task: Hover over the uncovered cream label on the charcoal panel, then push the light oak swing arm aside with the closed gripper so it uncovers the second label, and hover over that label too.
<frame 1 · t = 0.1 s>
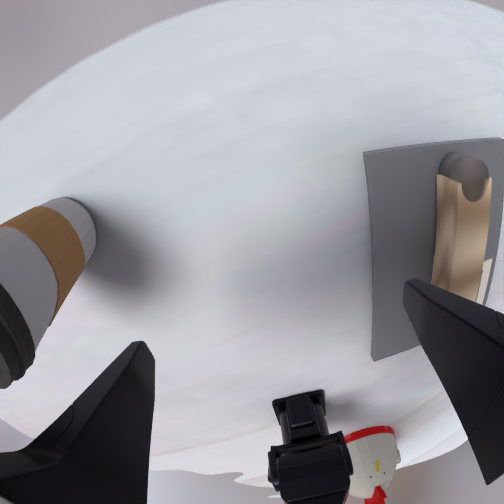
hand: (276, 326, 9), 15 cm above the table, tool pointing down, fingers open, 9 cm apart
label panel: (442, 254, 26), on the table
swing arm: (458, 268, 23), point 3 cm above the table, hinge at 0.0°
kitchen timer: (357, 443, 43), on the table
coffee cup: (69, 229, 23), on the table
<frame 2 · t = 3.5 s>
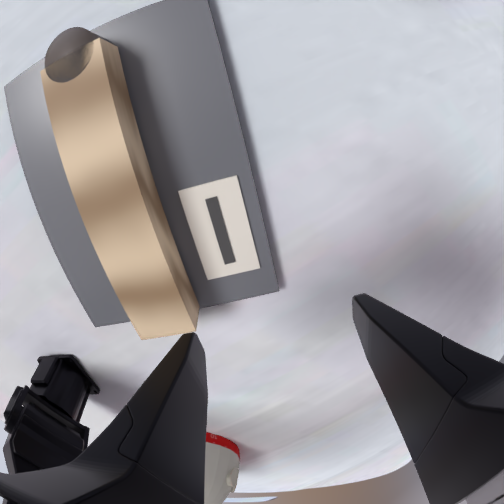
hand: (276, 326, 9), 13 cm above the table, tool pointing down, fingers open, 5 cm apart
label panel: (128, 175, 19), on the table
swing arm: (114, 186, 17), point 3 cm above the table, hinge at 0.0°
kitchen timer: (193, 448, 37), on the table
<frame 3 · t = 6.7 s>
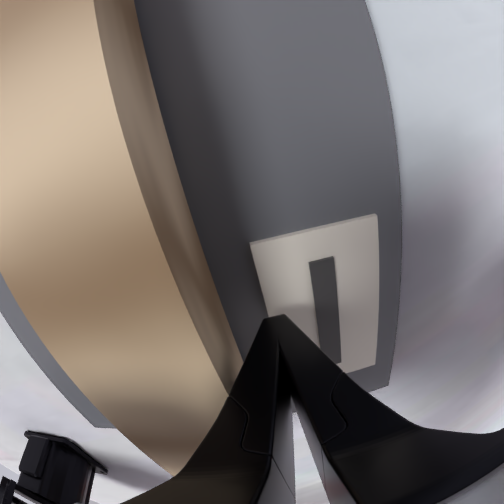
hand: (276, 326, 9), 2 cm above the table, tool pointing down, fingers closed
label panel: (129, 201, 9), on the table
swing arm: (95, 239, 7), point 3 cm above the table, hinge at 0.1°, touching gripper
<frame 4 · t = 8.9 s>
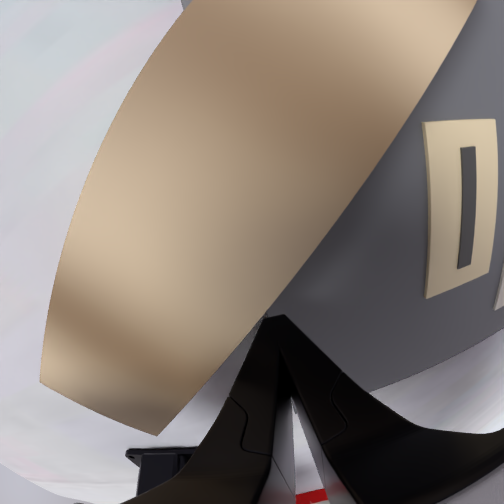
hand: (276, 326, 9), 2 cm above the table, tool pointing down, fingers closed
label panel: (447, 142, 9), on the table
swing arm: (285, 73, 6), point 3 cm above the table, hinge at 46.9°, touching gripper
kitchen timer: (316, 501, 26), on the table
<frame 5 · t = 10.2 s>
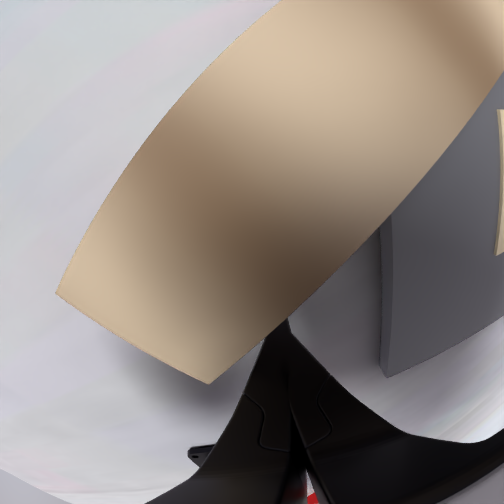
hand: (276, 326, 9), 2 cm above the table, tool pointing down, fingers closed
swing arm: (415, 17, 5), point 3 cm above the table, hinge at 56.3°, touching gripper
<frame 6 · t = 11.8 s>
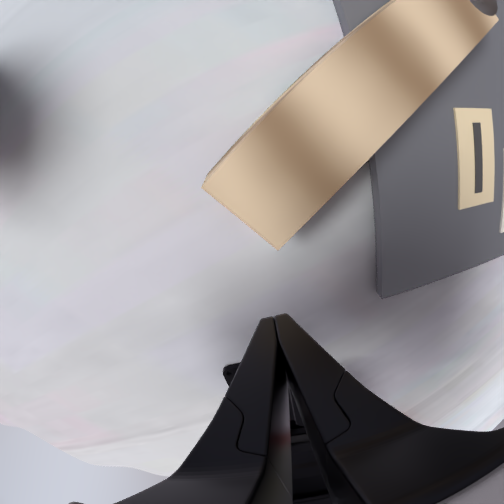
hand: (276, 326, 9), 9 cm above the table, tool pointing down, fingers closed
label panel: (465, 120, 15), on the table
swing arm: (390, 58, 11), point 3 cm above the table, hinge at 55.4°
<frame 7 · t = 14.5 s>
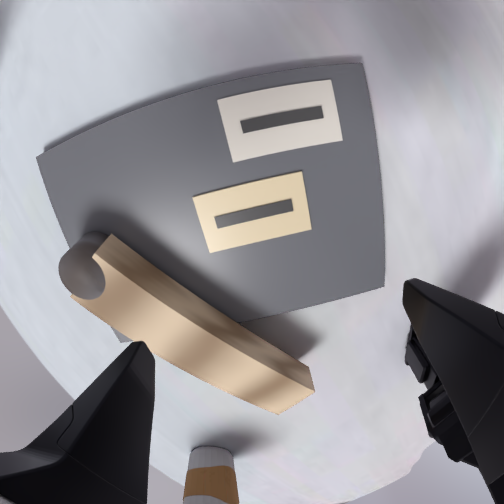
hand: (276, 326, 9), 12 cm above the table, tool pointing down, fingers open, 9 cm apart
label panel: (217, 216, 20), on the table
swing arm: (194, 336, 21), point 3 cm above the table, hinge at 55.4°
coffee cup: (211, 452, 36), on the table
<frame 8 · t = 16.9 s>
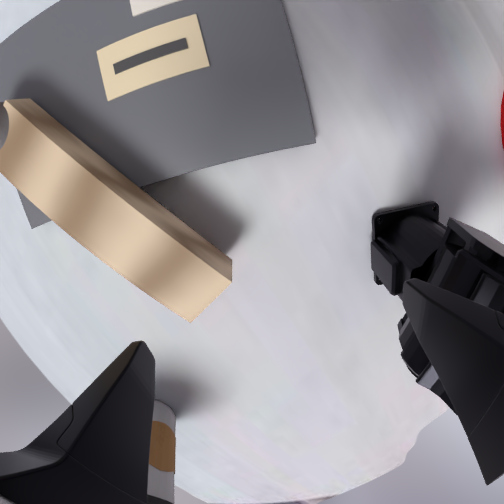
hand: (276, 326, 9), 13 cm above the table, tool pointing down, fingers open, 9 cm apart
label panel: (120, 71, 16), on the table
swing arm: (85, 195, 17), point 3 cm above the table, hinge at 55.4°
coffee cup: (151, 409, 32), on the table
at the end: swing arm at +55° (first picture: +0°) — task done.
